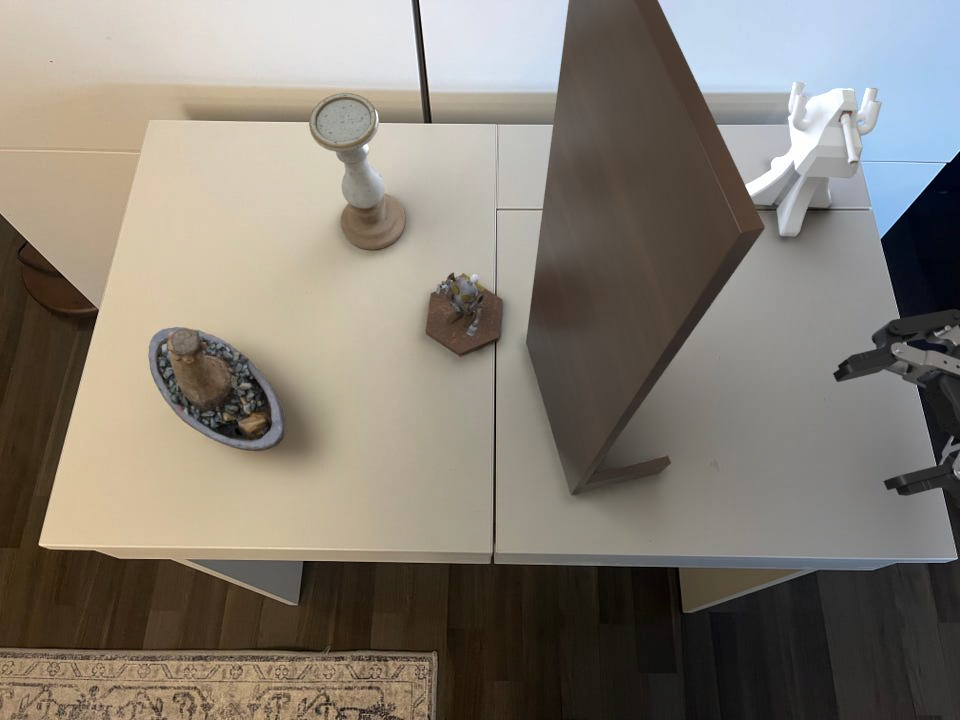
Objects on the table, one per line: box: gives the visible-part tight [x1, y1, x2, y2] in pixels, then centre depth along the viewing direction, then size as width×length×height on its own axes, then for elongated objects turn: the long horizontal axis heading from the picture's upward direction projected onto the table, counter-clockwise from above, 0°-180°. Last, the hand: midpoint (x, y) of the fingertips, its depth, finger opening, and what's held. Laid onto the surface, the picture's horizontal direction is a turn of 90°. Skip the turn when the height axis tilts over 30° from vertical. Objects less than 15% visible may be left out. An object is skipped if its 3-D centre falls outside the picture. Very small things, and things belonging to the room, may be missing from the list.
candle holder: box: [308, 92, 406, 251], centre depth 81 cm, size 9×9×20 cm
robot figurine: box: [425, 272, 503, 357], centre depth 79 cm, size 11×9×12 cm
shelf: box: [525, 0, 766, 496], centre depth 54 cm, size 11×20×56 cm, turn 14°
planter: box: [147, 326, 287, 452], centre depth 72 cm, size 15×17×20 cm
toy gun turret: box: [745, 82, 883, 238], centre depth 82 cm, size 12×13×18 cm
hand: (864, 427), depth 48 cm, fingers open, 8 cm apart
